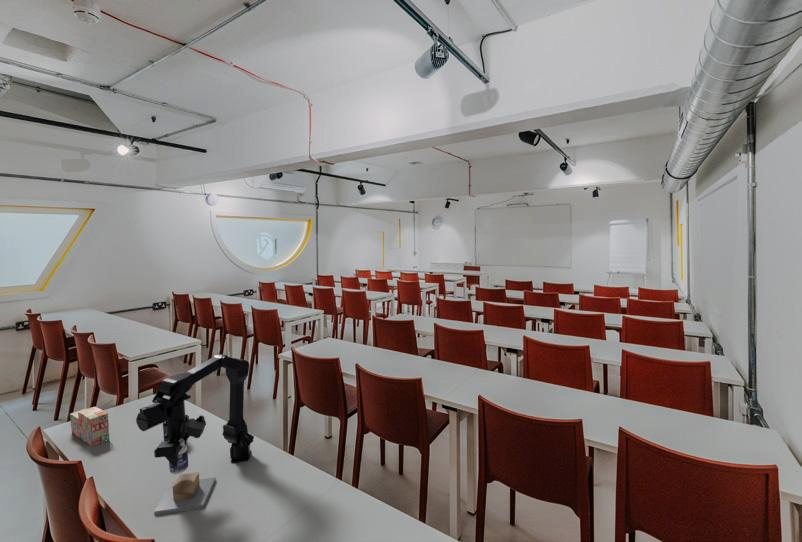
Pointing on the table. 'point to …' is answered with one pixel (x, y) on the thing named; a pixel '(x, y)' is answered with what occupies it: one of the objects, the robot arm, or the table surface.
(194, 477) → the tan wooden block
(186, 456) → the pill bottle
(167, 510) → the base plate
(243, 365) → the robot arm
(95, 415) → the stack of blocks
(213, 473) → the table surface
